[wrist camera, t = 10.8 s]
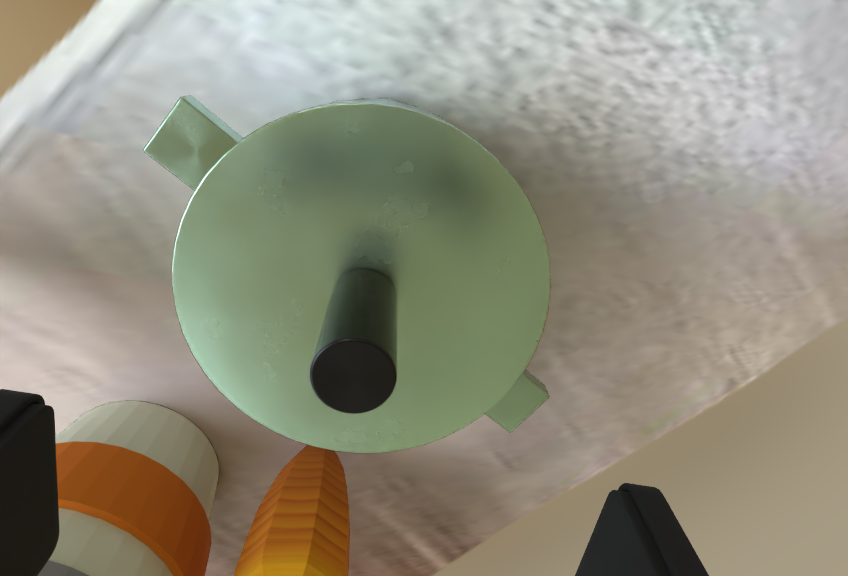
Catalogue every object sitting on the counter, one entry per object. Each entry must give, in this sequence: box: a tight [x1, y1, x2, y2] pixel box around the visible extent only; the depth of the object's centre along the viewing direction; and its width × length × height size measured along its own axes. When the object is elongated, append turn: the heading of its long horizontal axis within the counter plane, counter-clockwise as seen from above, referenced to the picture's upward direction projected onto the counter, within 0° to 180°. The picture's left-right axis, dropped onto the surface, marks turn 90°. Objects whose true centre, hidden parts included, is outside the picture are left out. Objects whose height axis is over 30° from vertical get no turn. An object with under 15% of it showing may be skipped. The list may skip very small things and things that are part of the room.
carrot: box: [234, 445, 350, 576], centre depth 27 cm, size 5×5×15 cm
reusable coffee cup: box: [38, 401, 219, 576], centre depth 27 cm, size 13×13×15 cm
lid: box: [172, 102, 551, 453], centre depth 19 cm, size 14×14×7 cm
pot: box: [143, 95, 550, 432], centre depth 25 cm, size 13×18×8 cm
